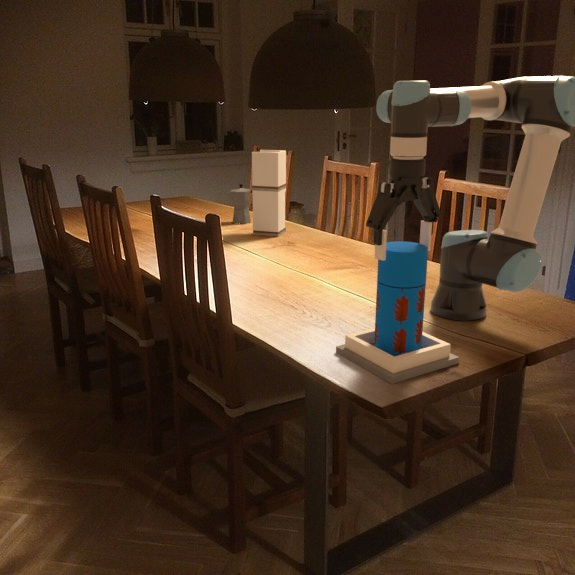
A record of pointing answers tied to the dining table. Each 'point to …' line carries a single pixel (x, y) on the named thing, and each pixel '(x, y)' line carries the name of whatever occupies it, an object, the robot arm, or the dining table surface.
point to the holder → (401, 366)
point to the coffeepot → (241, 204)
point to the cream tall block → (269, 192)
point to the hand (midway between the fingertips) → (403, 254)
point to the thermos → (401, 298)
